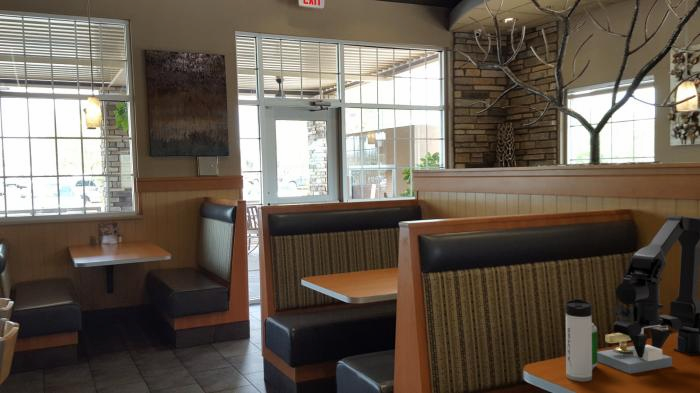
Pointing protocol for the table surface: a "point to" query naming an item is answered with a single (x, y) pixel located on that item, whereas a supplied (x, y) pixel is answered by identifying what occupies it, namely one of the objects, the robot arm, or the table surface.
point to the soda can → (594, 346)
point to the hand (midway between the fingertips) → (647, 356)
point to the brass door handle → (619, 338)
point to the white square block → (650, 353)
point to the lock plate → (631, 361)
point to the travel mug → (578, 340)
